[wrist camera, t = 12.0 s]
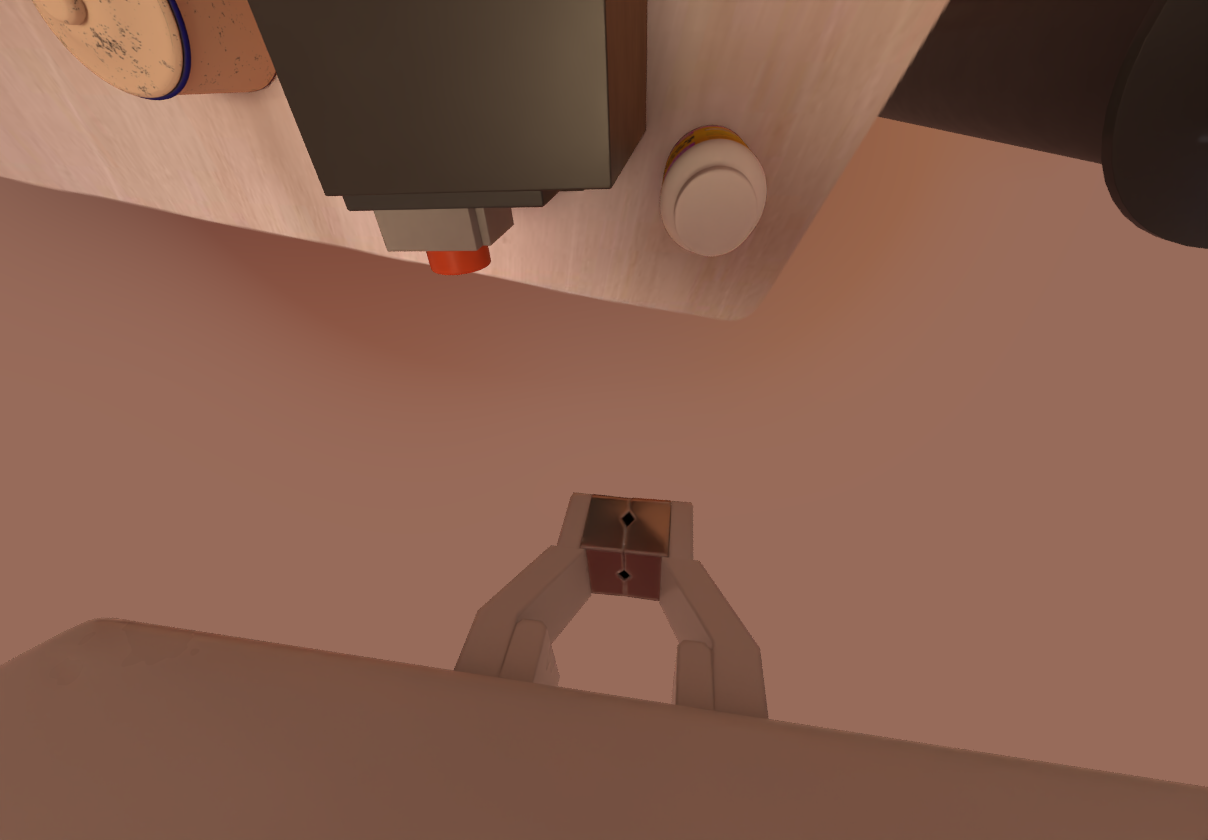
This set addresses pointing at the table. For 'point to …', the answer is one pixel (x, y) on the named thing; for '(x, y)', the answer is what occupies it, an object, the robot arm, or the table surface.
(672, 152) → the supplement bottle
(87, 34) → the teacup with lid
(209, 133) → the table surface
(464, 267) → the power button
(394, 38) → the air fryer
